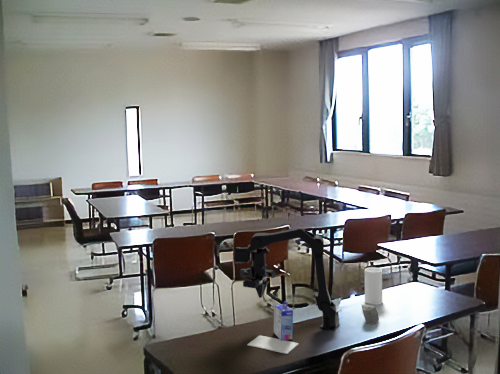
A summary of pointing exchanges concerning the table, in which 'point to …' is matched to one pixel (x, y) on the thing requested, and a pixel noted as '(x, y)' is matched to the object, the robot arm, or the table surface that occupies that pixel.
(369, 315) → the mineral specimen
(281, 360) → the table surface
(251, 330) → the table surface
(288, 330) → the ink cartridge box
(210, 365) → the table surface
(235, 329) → the table surface
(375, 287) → the cup
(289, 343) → the mat
